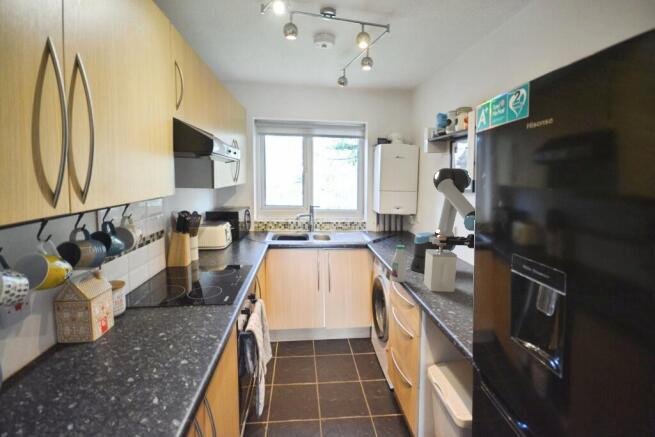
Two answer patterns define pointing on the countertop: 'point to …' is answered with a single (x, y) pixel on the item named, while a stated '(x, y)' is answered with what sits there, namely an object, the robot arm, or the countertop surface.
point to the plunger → (441, 244)
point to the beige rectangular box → (440, 270)
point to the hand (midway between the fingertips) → (431, 240)
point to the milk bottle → (399, 265)
